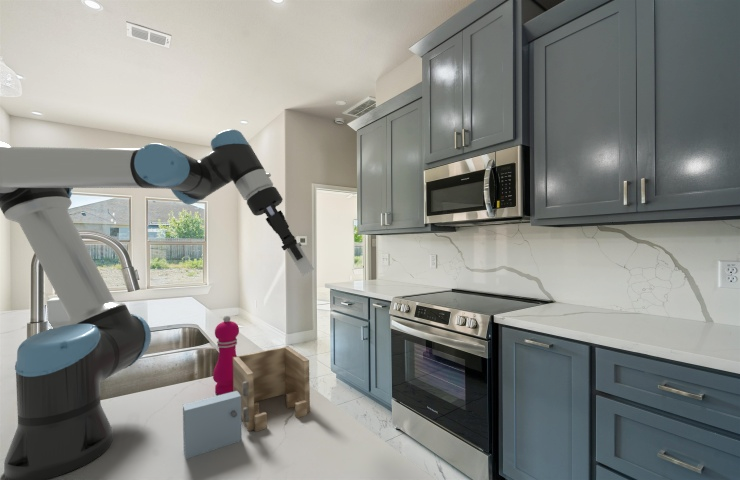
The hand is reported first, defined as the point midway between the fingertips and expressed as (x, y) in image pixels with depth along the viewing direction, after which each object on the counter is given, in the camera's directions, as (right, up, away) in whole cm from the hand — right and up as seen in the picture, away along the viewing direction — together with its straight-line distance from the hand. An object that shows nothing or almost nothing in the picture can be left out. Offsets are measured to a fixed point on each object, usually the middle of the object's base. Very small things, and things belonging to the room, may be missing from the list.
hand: (308, 272), depth 80 cm
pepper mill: (-24, -33, +12) cm, 42 cm away
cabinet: (-9, -33, +2) cm, 34 cm away
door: (-16, -33, -13) cm, 39 cm away
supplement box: (-125, -34, +77) cm, 151 cm away
